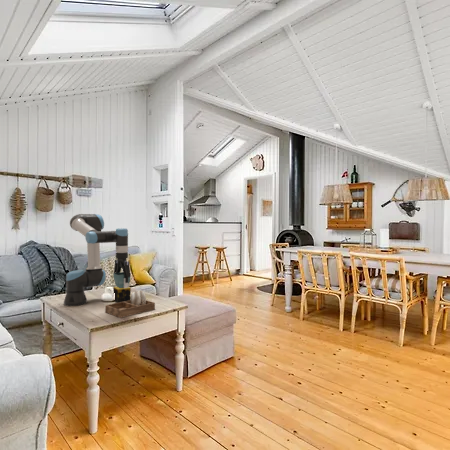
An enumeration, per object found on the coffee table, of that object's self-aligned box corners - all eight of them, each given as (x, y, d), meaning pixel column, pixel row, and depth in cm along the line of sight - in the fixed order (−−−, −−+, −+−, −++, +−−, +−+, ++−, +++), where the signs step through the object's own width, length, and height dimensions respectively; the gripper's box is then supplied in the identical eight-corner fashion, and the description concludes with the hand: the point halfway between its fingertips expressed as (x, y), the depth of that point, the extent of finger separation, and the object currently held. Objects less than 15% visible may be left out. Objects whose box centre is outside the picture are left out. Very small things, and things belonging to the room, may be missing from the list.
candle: (112, 300, 245) (112, 287, 245) (126, 298, 252) (126, 285, 251) (117, 303, 237) (117, 289, 237) (130, 301, 243) (130, 287, 243)
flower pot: (117, 289, 206) (117, 275, 206) (113, 286, 213) (113, 273, 213) (130, 287, 211) (130, 273, 211) (126, 285, 218) (126, 271, 218)
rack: (105, 312, 213) (105, 293, 213) (139, 304, 233) (139, 287, 233) (120, 317, 201) (120, 298, 201) (154, 309, 221) (154, 291, 221)
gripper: (107, 251, 216) (108, 285, 216) (125, 253, 202) (125, 290, 202) (118, 250, 222) (118, 283, 222) (136, 252, 207) (136, 288, 208)
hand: (121, 286), depth 212 cm, fingers closed on flower pot, 9 cm apart
